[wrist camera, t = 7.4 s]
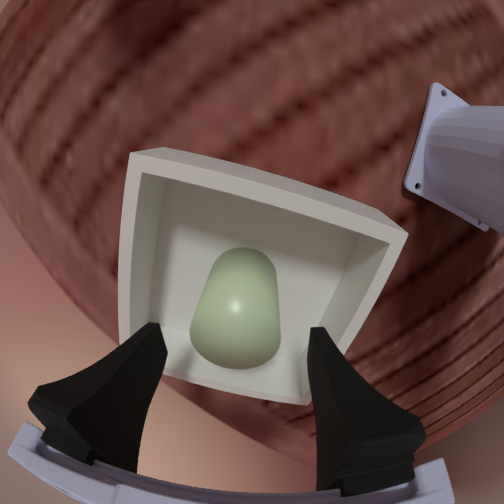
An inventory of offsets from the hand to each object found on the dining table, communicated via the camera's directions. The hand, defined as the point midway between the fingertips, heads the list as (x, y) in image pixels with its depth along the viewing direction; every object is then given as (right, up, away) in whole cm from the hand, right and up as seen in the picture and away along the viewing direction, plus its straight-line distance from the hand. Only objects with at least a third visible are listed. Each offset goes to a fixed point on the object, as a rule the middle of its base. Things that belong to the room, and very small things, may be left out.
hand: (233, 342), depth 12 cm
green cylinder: (0, +3, +6) cm, 6 cm away
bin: (0, +3, +6) cm, 7 cm away
